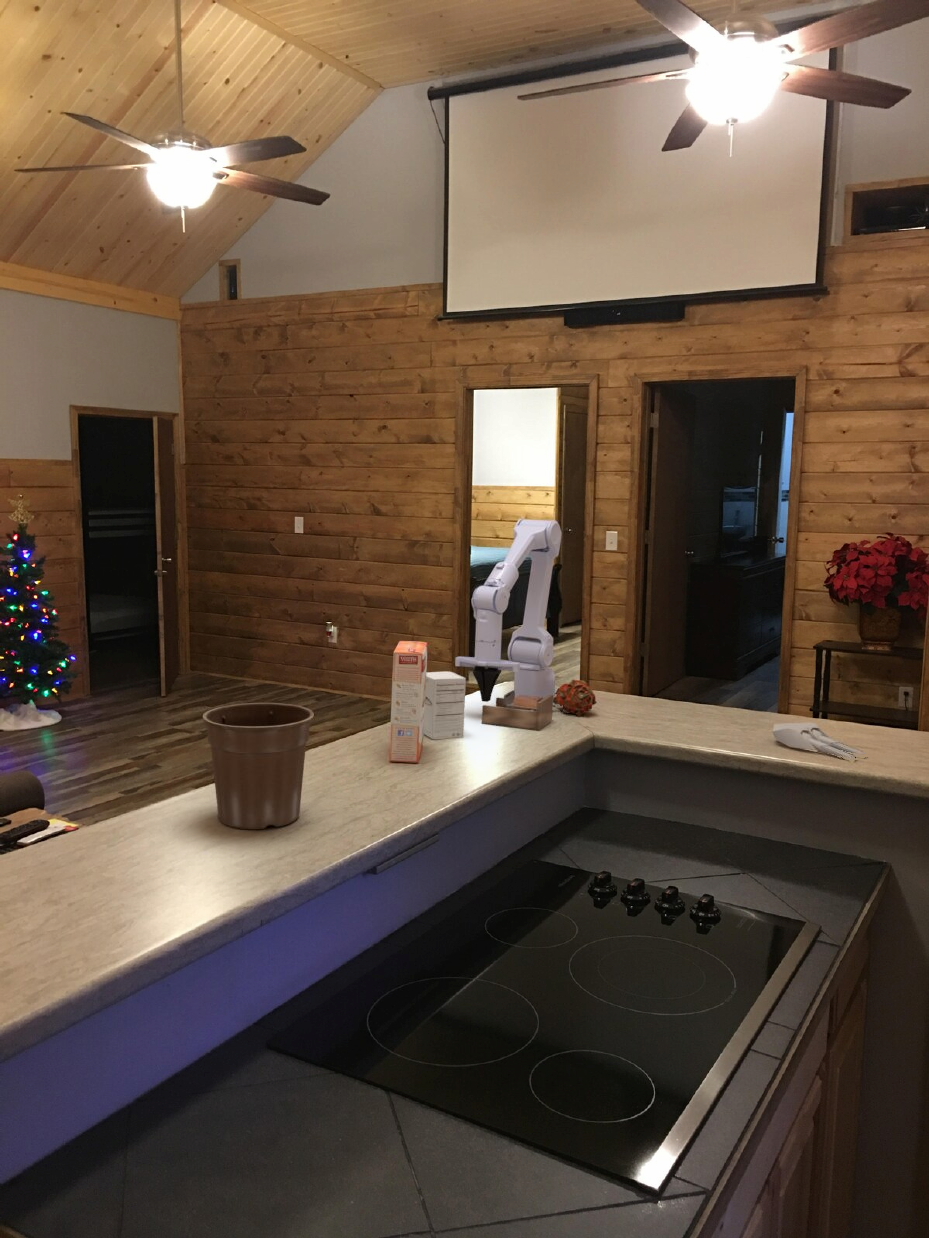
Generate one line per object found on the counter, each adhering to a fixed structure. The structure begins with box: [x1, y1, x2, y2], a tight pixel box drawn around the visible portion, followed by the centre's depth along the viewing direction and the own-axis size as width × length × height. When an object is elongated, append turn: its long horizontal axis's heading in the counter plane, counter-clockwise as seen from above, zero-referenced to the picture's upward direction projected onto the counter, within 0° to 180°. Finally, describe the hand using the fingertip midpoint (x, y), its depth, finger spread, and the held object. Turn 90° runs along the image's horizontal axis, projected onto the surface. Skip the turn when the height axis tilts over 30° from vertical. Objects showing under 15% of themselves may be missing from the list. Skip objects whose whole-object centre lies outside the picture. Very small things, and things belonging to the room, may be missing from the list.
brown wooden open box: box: [481, 695, 553, 732], centre depth 220 cm, size 13×10×6 cm
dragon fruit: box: [553, 679, 597, 716], centre depth 233 cm, size 8×8×12 cm
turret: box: [772, 721, 865, 759], centre depth 207 cm, size 10×20×5 cm, turn 43°
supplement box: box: [423, 671, 467, 740], centre depth 207 cm, size 7×7×13 cm
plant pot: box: [202, 702, 315, 830], centre depth 151 cm, size 16×16×16 cm
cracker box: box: [388, 640, 428, 764], centre depth 190 cm, size 14×6×21 cm, turn 179°
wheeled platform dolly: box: [503, 689, 543, 711], centre depth 220 cm, size 8×8×5 cm
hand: (486, 700), depth 223 cm, fingers closed
